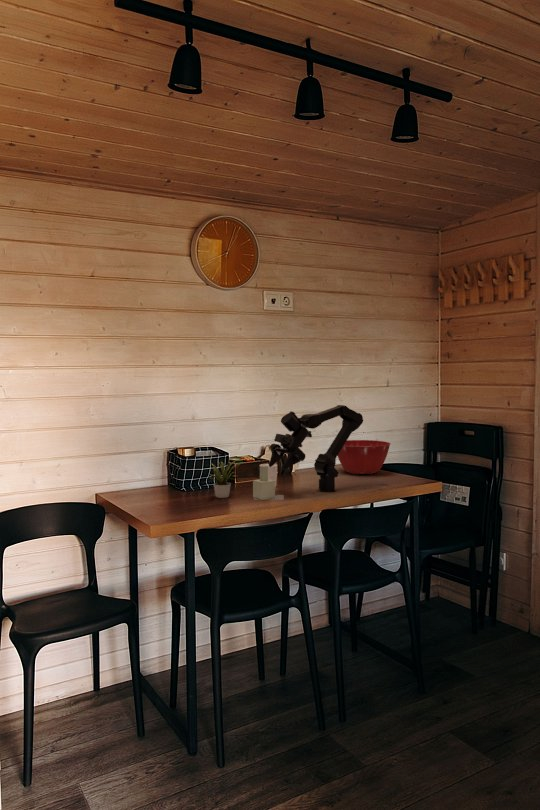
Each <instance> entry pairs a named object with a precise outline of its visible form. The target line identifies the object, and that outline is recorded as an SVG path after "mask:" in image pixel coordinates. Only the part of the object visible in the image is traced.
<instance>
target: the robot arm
mask: <svg viewBox="0 0 540 810" xmlns="http://www.w3.org/2000/svg"><path fill="white" fill-rule="evenodd" d="M337 417H340V418H341V420H342V422H341V428H340V429H339V431H338V433H337V435H336V436H335V438H334V439H333V441H332V443H331V444H330V446H329V448H328V449H327V451H326V452H325V453H319V454H318V455H317V458H315V460H314V464H313V467H314V470H315V472H316V475H317V476H319V479H318V490H319V491H320V492H336V488H335V487H336V486H335V485H336V479H335V478H337V477H338V476H339V471H338V470H337V469H336V463H337V461H336V460H337V458H338V456H337V455H338V454H339V452H340V451H341V449H342V447H343V446H344V444H345V443H346V441H347V440H349V438H350V436H351V434H352V433H353V432H354V431H356V430H358V429H360V426H362V425H363V423H364V417H363V415H362V414H361V413H360V412H357V411H355V410H353V409H351V408H350V407H348V406H347V405H343V404H337V405H336V406H334V407H331V408H328V409H325V410H323V411H320V412H315V413H305V414H302V415H301V417H298V416H297V414H296V413H295V412H294V411H291V410H290V411H289V412H288V413H287V414H285V415H283V416H282V417H281V419H280V424H282V425H283V426H284V428H286V429H287V430H288V432H290V433H291V434H290V433H286V434H282V433H276V434H275V436H274V440H273V441H274V442H277V443H271V444H270V446H269V449H270V452H271V457H270V460H269V463H268V464H269V467H271V466H273V465H274V464H277V463H278V462H279V461H281V459H282V458H283V456H284V455H285V454H286V455H287V458H286V460H285V461H284V463H283V465H282V467H281V469H282V471H285V470H286V469H288V468H290V467H292V466H294V465H296V464H298V463H300V462H304V460H305V459H306V454H305V452H304V451H303V450H302V449H301V448H302V447H303V442H304V441H305V439H306V438H313V434H312V431H311V430H308V429H312V430H313V429H316V428H318V427H320V426H321V425H322V423H324V422H326V421H327V422H328V421H329V420H333V419H334V418H337ZM278 443H279V444H278Z"/></svg>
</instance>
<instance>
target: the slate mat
mask: <svg viewBox="0 0 540 810" xmlns="http://www.w3.org/2000/svg"><path fill="white" fill-rule="evenodd" d="M284 497H285V496H284V494H275V498H271V499H265V500H264V501H271V500H272V501H277V500H278V501H284ZM253 500H254V501H256V500H257V501H262V500H261V499H257V498H254V497H253Z"/></svg>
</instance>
